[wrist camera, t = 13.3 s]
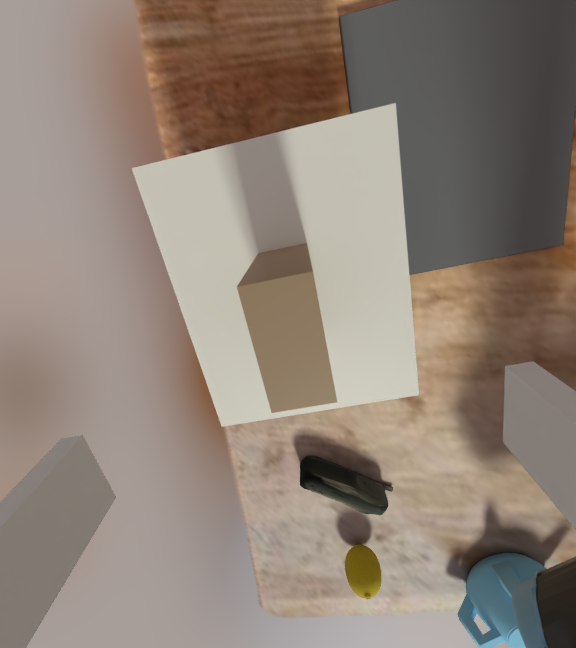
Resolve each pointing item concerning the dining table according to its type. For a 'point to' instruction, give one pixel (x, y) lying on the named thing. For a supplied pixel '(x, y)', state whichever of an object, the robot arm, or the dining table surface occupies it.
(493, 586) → the teapot
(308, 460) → the mobile phone
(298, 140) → the lid
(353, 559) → the lemon
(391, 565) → the dining table surface
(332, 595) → the dining table surface
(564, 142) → the mat
